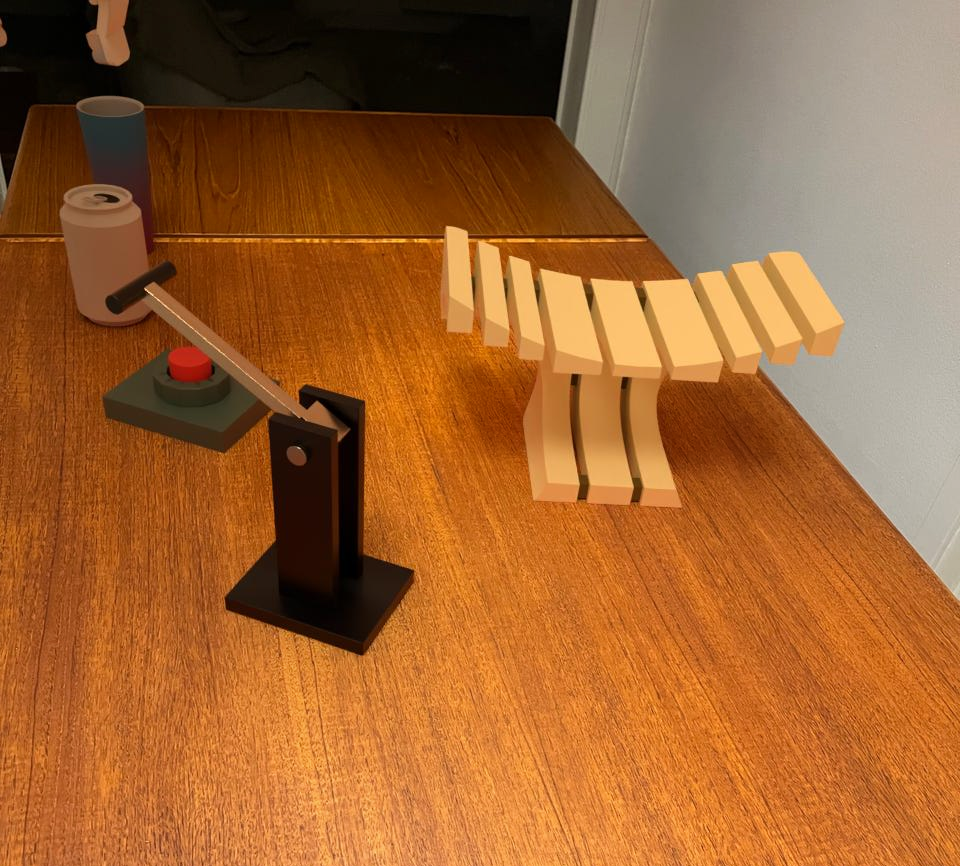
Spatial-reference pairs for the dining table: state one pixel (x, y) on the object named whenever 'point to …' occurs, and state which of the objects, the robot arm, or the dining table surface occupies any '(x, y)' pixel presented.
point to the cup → (119, 150)
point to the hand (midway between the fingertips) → (51, 54)
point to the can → (104, 249)
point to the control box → (186, 405)
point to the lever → (214, 345)
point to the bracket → (320, 535)
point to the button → (189, 365)
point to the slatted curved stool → (627, 355)
